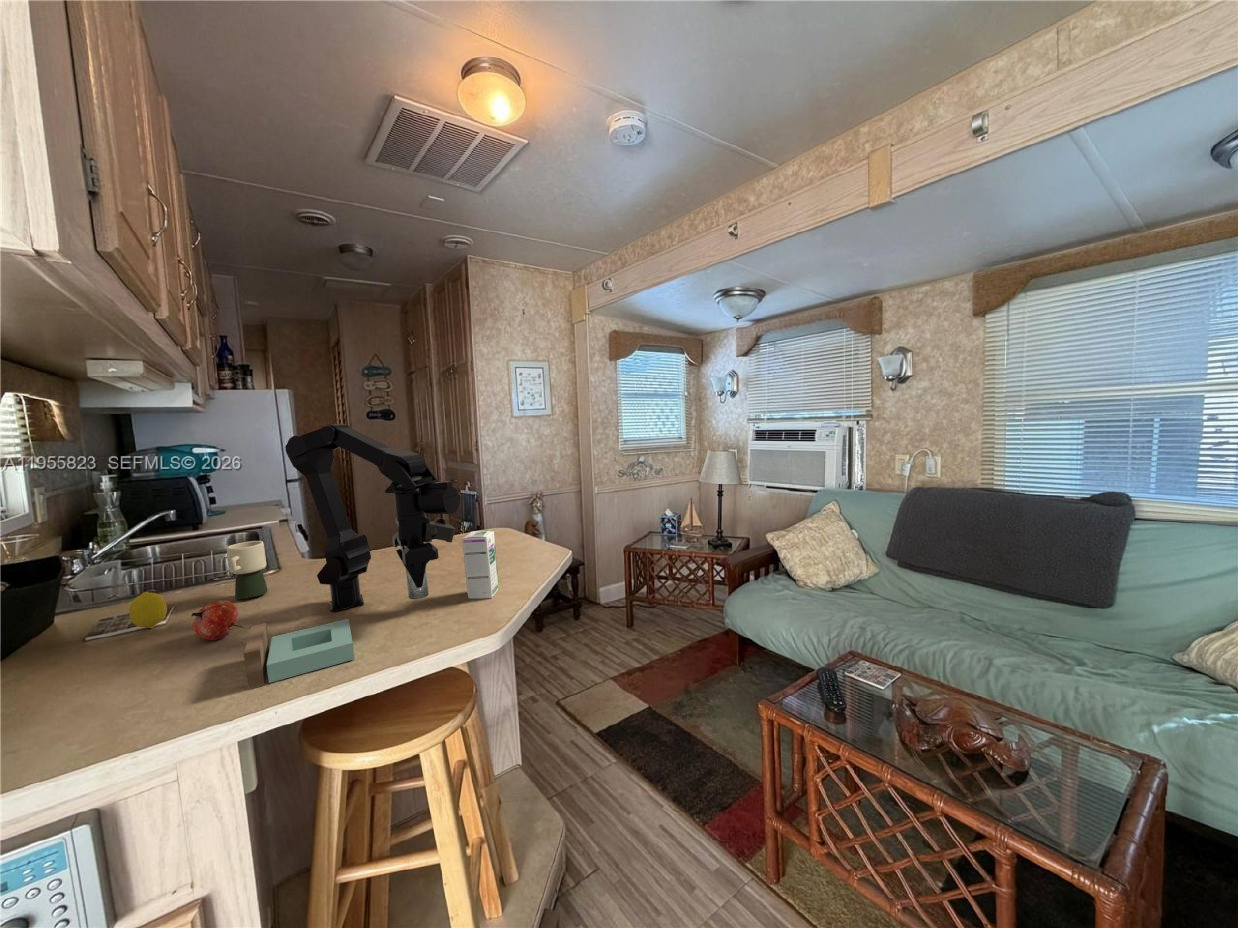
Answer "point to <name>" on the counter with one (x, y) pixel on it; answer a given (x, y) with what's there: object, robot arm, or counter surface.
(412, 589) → the dowel
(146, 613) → the lemon
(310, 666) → the socket block
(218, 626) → the red rounded lumpy piece
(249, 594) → the character mug
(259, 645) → the backstop wall
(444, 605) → the counter surface
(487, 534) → the syrup box
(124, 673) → the counter surface
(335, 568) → the robot arm
